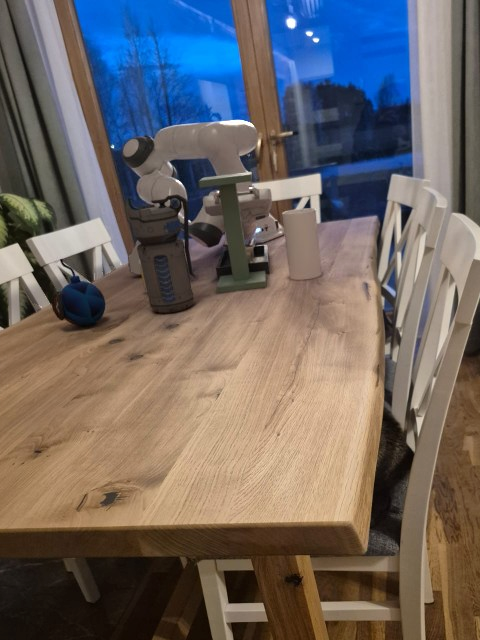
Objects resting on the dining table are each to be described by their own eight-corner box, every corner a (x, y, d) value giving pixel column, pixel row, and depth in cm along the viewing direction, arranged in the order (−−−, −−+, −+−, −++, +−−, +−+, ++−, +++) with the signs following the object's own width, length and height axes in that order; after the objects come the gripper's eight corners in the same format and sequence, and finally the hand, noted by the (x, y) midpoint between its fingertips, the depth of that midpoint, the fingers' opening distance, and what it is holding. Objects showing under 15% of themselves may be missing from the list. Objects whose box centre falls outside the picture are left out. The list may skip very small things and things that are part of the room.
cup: (284, 280, 147) (276, 214, 140) (297, 272, 153) (289, 209, 147) (315, 279, 143) (308, 212, 137) (326, 271, 150) (320, 207, 143)
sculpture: (145, 283, 186) (177, 264, 186) (138, 286, 169) (173, 265, 169) (125, 252, 183) (158, 233, 183) (116, 251, 166) (152, 231, 166)
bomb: (54, 328, 130) (34, 261, 123) (101, 315, 135) (84, 250, 129) (67, 336, 122) (46, 266, 116) (116, 322, 128) (99, 254, 122)
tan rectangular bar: (247, 248, 179) (245, 235, 177) (260, 246, 179) (258, 233, 177) (237, 270, 160) (235, 256, 158) (251, 268, 159) (249, 254, 157)
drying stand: (220, 281, 153) (203, 177, 142) (265, 276, 153) (251, 171, 142) (217, 293, 142) (198, 181, 131) (266, 287, 142) (250, 174, 131)
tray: (223, 260, 179) (221, 250, 177) (268, 255, 179) (267, 244, 177) (217, 280, 155) (215, 268, 154) (269, 273, 155) (267, 261, 154)
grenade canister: (205, 309, 130) (183, 192, 119) (146, 317, 129) (119, 200, 118) (205, 297, 139) (185, 188, 129) (150, 306, 138) (125, 196, 128)
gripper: (205, 204, 178) (197, 184, 164) (271, 196, 178) (268, 175, 164) (207, 224, 177) (199, 205, 164) (274, 216, 177) (271, 196, 164)
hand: (235, 190), depth 164 cm, fingers open, 8 cm apart
